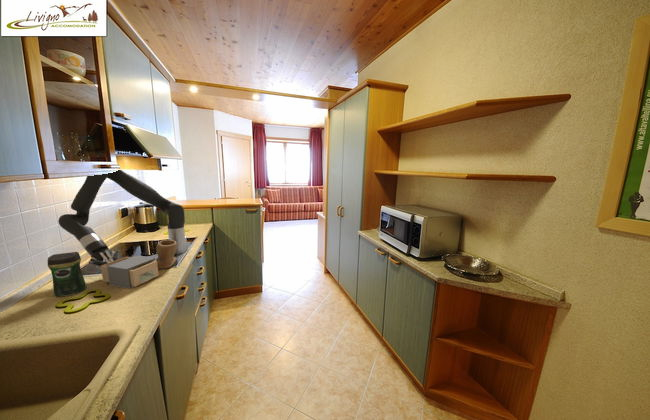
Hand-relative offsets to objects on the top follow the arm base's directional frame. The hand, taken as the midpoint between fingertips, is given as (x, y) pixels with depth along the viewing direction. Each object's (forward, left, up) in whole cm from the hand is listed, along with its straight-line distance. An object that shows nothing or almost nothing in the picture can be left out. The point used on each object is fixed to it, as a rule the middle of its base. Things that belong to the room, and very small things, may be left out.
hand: (115, 269), depth 118 cm
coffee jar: (+16, -4, -5) cm, 17 cm away
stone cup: (-19, +11, -5) cm, 23 cm away
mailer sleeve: (0, +12, -4) cm, 13 cm away
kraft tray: (0, +11, -3) cm, 11 cm away
